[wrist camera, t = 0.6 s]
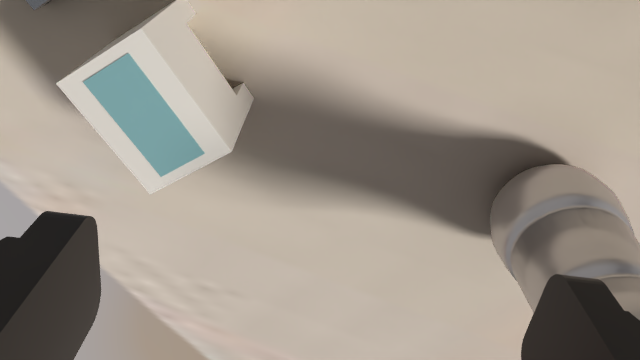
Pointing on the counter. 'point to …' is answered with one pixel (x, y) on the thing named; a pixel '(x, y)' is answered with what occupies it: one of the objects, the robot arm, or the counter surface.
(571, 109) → the counter surface
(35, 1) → the rail plate
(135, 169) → the block
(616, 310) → the robot arm
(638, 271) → the plastic bottle
